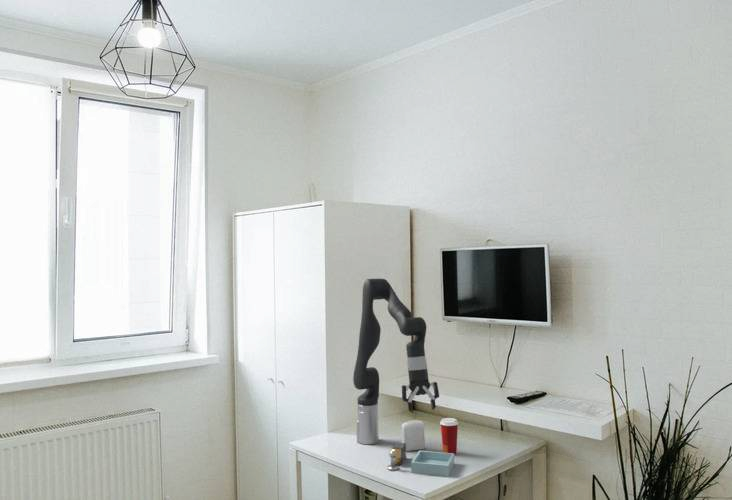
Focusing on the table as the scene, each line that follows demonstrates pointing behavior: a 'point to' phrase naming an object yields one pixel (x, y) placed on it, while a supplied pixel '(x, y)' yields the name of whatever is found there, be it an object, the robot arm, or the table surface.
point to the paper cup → (449, 435)
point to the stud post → (392, 462)
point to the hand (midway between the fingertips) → (422, 411)
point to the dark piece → (399, 453)
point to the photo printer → (413, 435)
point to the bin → (432, 463)
